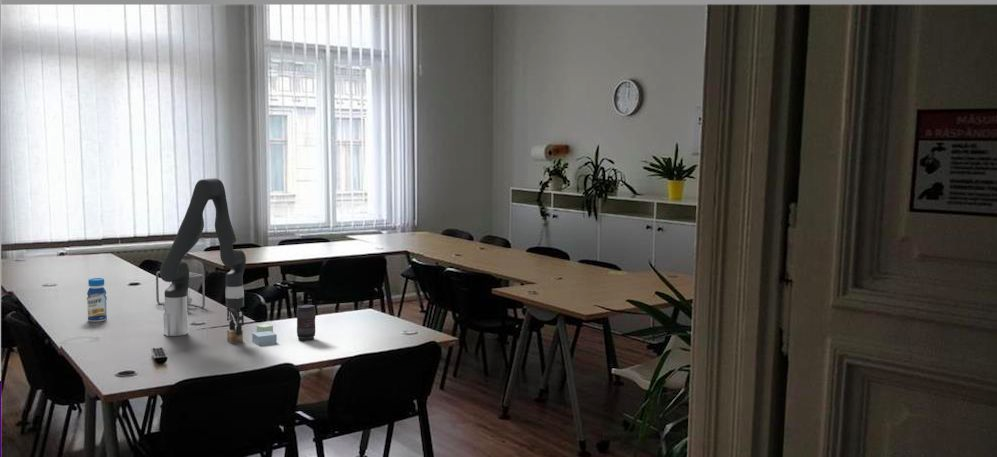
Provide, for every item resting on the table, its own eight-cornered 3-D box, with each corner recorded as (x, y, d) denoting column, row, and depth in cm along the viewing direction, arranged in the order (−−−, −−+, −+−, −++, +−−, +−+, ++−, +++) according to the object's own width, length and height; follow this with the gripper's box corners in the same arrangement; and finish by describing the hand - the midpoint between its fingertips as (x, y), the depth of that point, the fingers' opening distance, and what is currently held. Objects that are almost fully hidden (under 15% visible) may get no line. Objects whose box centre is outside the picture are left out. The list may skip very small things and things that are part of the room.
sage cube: (263, 338, 349) (263, 327, 349) (256, 336, 352) (256, 325, 352) (273, 336, 353) (272, 325, 353) (266, 334, 356) (266, 324, 356)
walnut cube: (231, 343, 339) (231, 332, 339) (227, 341, 343) (227, 329, 343) (242, 342, 342) (242, 330, 342) (238, 339, 346) (238, 328, 346)
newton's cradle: (156, 303, 422) (155, 270, 420) (174, 301, 430) (173, 268, 429) (186, 311, 404) (186, 277, 402) (205, 308, 412) (204, 274, 410)
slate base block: (258, 345, 337) (257, 336, 336) (252, 342, 343) (252, 332, 343) (276, 343, 341) (276, 334, 341) (270, 339, 348) (270, 330, 347)
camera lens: (319, 338, 351) (318, 304, 350) (309, 342, 344) (309, 308, 342) (302, 336, 354) (302, 303, 352) (293, 340, 346) (293, 306, 344)
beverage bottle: (111, 318, 382) (109, 277, 381) (100, 322, 374) (99, 280, 372) (94, 318, 383) (93, 277, 381) (83, 321, 375) (82, 280, 373)
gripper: (220, 294, 344) (221, 331, 345) (231, 299, 333) (232, 337, 334) (237, 293, 349) (238, 329, 350) (249, 297, 337) (250, 335, 339)
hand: (235, 333), depth 342 cm, fingers open, 8 cm apart
